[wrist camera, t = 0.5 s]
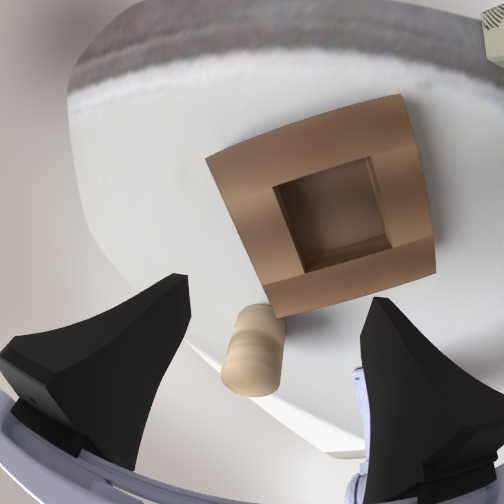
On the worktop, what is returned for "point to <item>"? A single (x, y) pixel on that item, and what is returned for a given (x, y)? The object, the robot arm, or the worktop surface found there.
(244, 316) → the pin
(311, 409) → the worktop surface
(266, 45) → the worktop surface
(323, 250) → the socket block
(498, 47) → the box
